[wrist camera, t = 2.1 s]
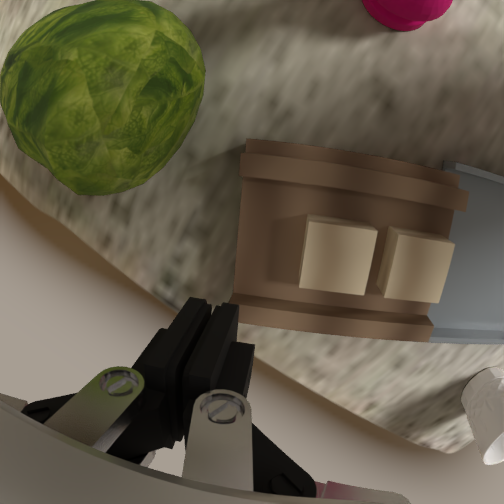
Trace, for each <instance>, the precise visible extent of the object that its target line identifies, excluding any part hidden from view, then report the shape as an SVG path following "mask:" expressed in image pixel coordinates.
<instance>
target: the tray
mask: <svg viewBox="0 0 504 504" xmlns="http://www.w3.org/2000/svg"><path fill="white" fill-rule="evenodd" d="M442 171H446V172H450V173H453V174H457V175H460V180H459V187H458V188H459V189H463V190H466V191H469V197H468V203H467V208H466V212H462V211H458V210H454V215H453V220H452V225H451V230H450V234H449V239H448V240H450V241H451V242H453V243H454V244H455V247H454V251H453V255H452V259H451V263H450V266H449V270H448V274H447V277H446V281H445V284H444V287H443V291H442V294H441V297H440V300H439V303H431V305H430V308H429V311H428V314H427V316H428V318H429V319H430V320H431V322H432V323H433V325H434V328H433V331H432V334H431V336H430V339H429V342H431V343H456V344H504V177H503V176H500V175H497V174H494V173H491V172H488V171H484V170H481V169H478V168H475V167H471V166H468V165H465V164H461V163H458V162H451V161H443V169H442ZM413 342H415V341H413Z"/></svg>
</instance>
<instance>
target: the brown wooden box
mask: <svg viewBox="0 0 504 504" xmlns="http://www.w3.org/2000/svg"><path fill="white" fill-rule="evenodd" d="M239 176H243V181H242V192H241V204H240V215H239V227H238V238H237V250H236V262H235V275H234V287H233V294H232V296H231V298H230V301H229V303H231V304H237V305H239V318H238V322H239V323H245V324H252V325H259V326H266V327H273V328H281V329H288V330H296V331H304V332H313V333H321V334H331V335H340V336H350V337H361V338H373V339H385V340H399V341H415V342H429V339H430V336H431V334H432V331H433V328H434V325H433V323H432V322H431V320H430V319H429V318H428V316H427V314H428V311H429V308H430V305H431V303H429V302H419V301H410V300H400V299H391V298H384V297H383V295H382V293H381V291H380V289H379V288H378V286H377V284H376V283H377V279H378V274H379V270H380V266H381V261H382V257H383V252H384V247H385V242H386V238H387V232H388V227H389V226H393V227H399V228H405V229H411V230H416V231H422V232H428V233H434V234H439V235H442V236H444V237H445V238H447V239H449V234H450V230H451V225H452V220H453V215H454V210H458V211H462V212H466V208H467V203H468V197H469V191H466V190H463V189H459V188H458V187H459V180H460V175H457V174H453V173H450V172H446V171H442V170H438V169H434V168H430V167H425V166H421V165H417V164H412V163H408V162H403V161H398V160H394V159H389V158H384V157H378V156H373V155H368V154H362V153H356V152H351V151H345V150H338V149H332V148H325V147H318V146H311V145H303V144H295V143H287V142H278V141H268V140H258V139H246V149H245V153H241V156H240V167H239ZM308 214H312V215H320V216H327V217H334V218H341V219H348V220H354V221H361V222H368V223H370V224H371V225H372V226H373V227H374V228H375V229H376V230H377V231H378V233H377V238H376V243H375V248H374V253H373V258H372V262H371V267H370V271H369V276H368V280H367V284H366V289H365V293H364V295H355V294H347V293H339V292H330V291H322V290H314V289H306V288H299V270H300V264H301V257H302V251H303V244H304V237H305V230H306V222H307V215H308Z"/></svg>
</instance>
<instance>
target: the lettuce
mask: <svg viewBox="0 0 504 504" xmlns="http://www.w3.org/2000/svg"><path fill="white" fill-rule="evenodd" d="M205 72H206V70H205V66H204V61H203V57H202V53H201V49H200V47H199V45H198V43H197V42H196V40H195V38H194V36H193V35H192V33H191V31H190V30H189V29H188V28H187V27H186V26H185V25H184V24H183V23H182V22H181V21H180V20H179V19H178V18H177V17H176V16H175V15H174V14H173V13H172V12H170V11H168V10H166V9H164V8H162V7H161V6H159V5H157V4H155V3H153V2H150V1H141V0H95V1H91V2H87V3H84V4H79V5H74V6H68V7H64V8H61V9H58V10H55V11H53V12H51V13H50V14H48V15H47V16H45V17H43V18H42V19H41V20H39V21H38V22H36V23H35V24H33V25H32V26H31V27H29V28H28V29H27V30H25V31H24V32H23V34H22V35H21V36H20V37H19V38H18V40H17V41H16V42H15V44H14V45H13V46H12V48H11V49H10V51H9V52H8V54H7V57H6V59H5V62H4V65H3V68H2V70H1V74H0V103H1V106H2V109H3V111H4V114H5V116H6V119H7V123H8V125H9V128H10V130H11V132H12V135H13V137H14V139H15V142H16V144H17V146H18V148H19V149H20V150H21V151H23V152H24V153H25V154H27V155H28V156H29V157H31V158H32V159H34V160H35V161H37V162H38V163H40V164H41V165H43V166H44V167H46V168H47V169H49V171H50V172H51V173H52V174H53V175H54V176H55V178H56V179H58V180H59V181H60V182H62V183H63V184H64V185H66V186H67V187H68V188H70V189H71V190H72V191H74V192H75V193H76V194H78V195H102V196H104V195H109V194H114V193H120V192H124V191H126V190H128V189H131V188H133V187H136V186H139V185H141V184H143V183H145V182H146V181H147V180H148V179H150V178H151V177H152V176H153V175H154V174H156V173H157V172H158V171H159V170H161V169H162V168H163V167H164V166H165V165H166V163H167V162H168V161H169V160H170V158H171V157H172V156H173V155H174V154H175V152H176V151H177V150H178V149H179V147H180V146H181V145H182V143H183V141H184V139H185V137H186V135H187V134H188V132H189V130H190V128H191V126H192V125H193V123H194V121H195V118H196V115H197V112H198V109H199V106H200V103H201V100H202V97H203V91H204V81H205Z"/></svg>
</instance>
